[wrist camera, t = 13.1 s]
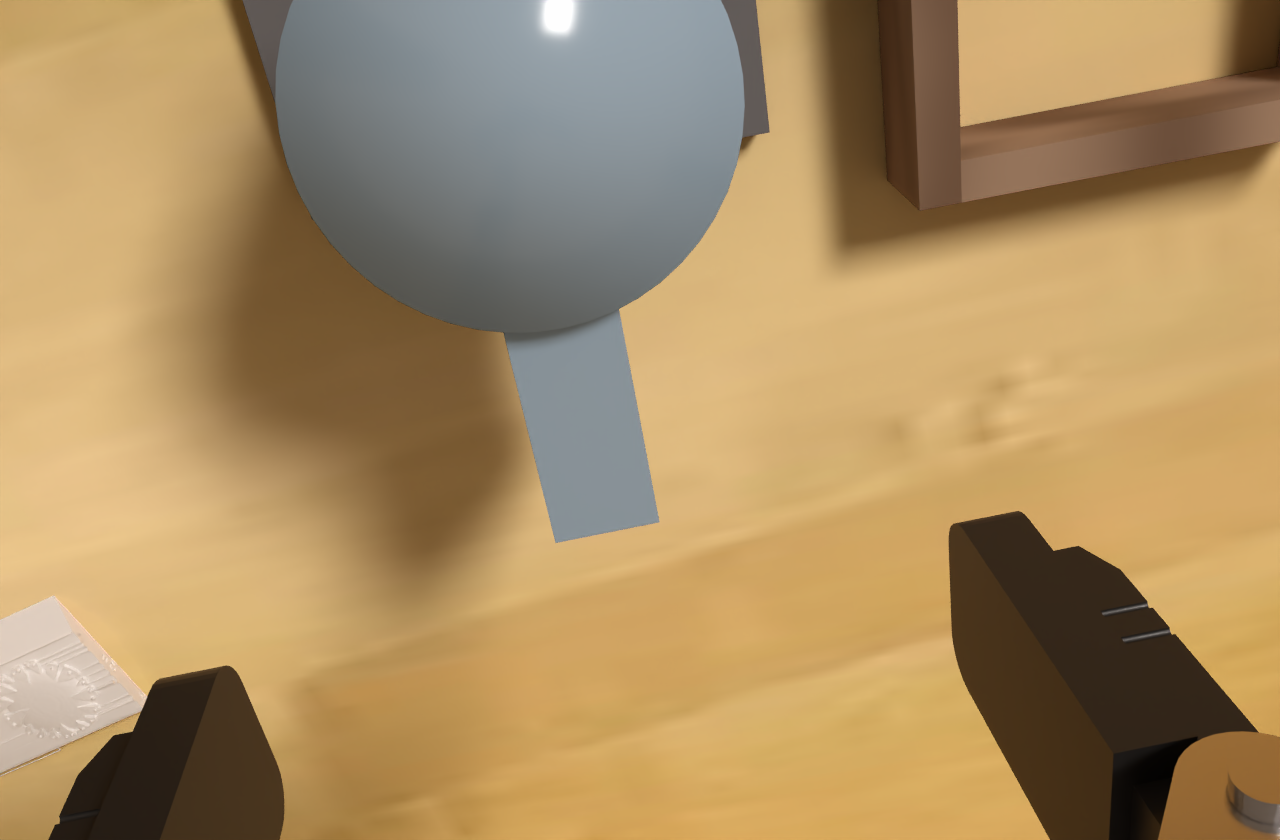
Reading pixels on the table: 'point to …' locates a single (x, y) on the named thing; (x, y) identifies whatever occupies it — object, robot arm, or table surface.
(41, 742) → the white plastic strip tool
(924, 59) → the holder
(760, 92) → the mat
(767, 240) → the table surface
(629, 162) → the jug
